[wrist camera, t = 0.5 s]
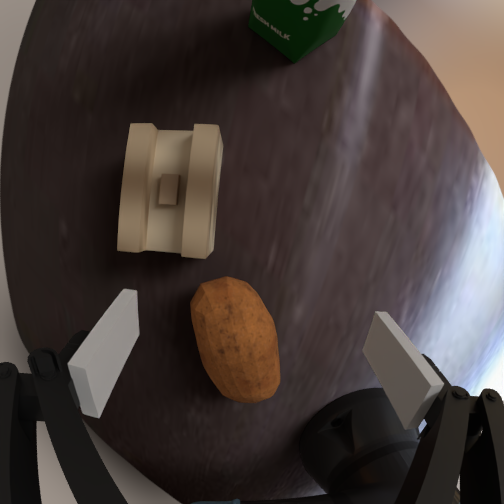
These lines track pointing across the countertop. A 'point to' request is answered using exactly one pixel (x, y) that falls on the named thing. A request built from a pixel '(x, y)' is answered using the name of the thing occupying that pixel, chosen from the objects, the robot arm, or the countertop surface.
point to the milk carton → (298, 23)
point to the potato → (236, 339)
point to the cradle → (170, 190)
